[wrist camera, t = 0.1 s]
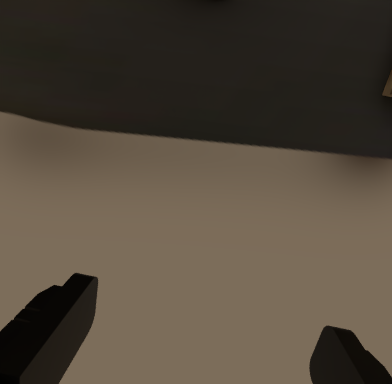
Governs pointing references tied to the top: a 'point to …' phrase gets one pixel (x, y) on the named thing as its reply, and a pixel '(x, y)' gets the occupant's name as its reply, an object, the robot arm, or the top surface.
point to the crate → (388, 86)
